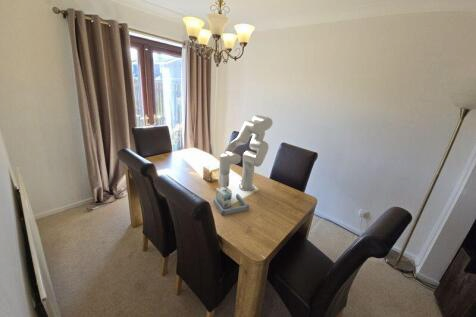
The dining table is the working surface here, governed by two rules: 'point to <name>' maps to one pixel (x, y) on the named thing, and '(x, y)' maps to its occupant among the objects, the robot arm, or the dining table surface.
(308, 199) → the dining table surface
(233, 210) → the dock
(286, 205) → the dining table surface
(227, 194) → the light bulb box
